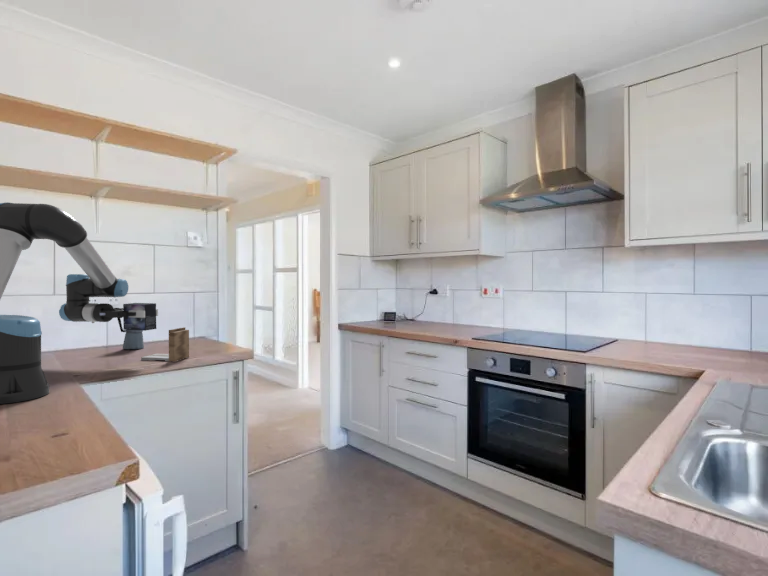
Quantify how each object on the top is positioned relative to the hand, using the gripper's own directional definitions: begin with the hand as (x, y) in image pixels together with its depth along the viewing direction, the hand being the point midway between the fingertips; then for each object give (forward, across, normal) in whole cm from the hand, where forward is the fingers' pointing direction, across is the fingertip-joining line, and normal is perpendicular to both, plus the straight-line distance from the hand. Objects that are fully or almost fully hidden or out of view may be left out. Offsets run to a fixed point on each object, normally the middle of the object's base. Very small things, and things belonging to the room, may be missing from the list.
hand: (151, 313), depth 164 cm
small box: (-5, 0, -7) cm, 8 cm away
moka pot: (-34, -32, -21) cm, 51 cm away
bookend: (-2, -11, -20) cm, 23 cm away
